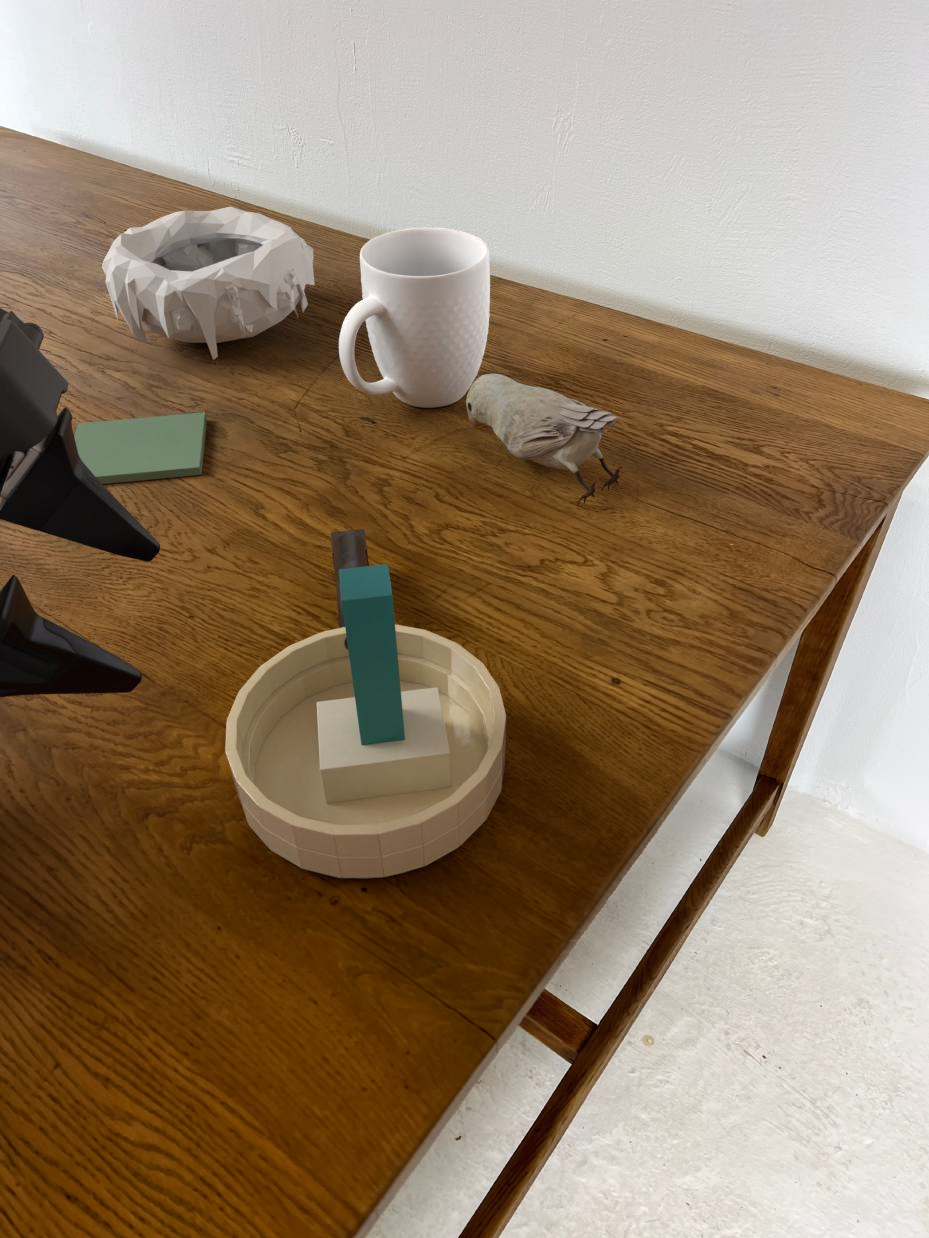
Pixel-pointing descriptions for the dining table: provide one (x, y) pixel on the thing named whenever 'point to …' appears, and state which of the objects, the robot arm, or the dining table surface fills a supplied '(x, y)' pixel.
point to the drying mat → (143, 447)
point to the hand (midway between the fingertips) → (147, 613)
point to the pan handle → (347, 559)
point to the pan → (372, 827)
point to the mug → (421, 314)
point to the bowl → (208, 275)
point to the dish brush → (378, 707)
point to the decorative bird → (540, 424)
